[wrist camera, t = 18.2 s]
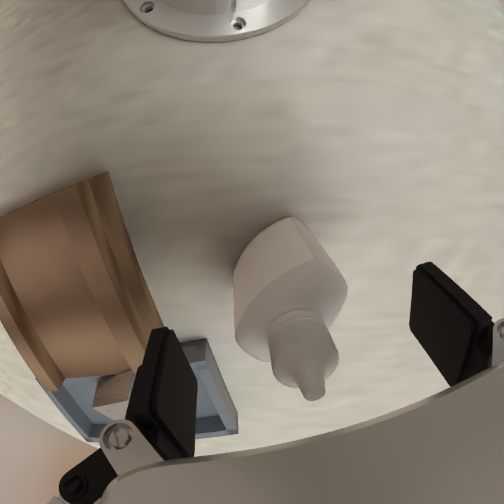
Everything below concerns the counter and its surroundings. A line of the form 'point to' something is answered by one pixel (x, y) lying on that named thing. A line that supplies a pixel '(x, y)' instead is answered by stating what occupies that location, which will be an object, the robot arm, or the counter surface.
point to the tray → (208, 398)
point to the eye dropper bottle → (289, 305)
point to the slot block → (74, 286)
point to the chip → (114, 395)
